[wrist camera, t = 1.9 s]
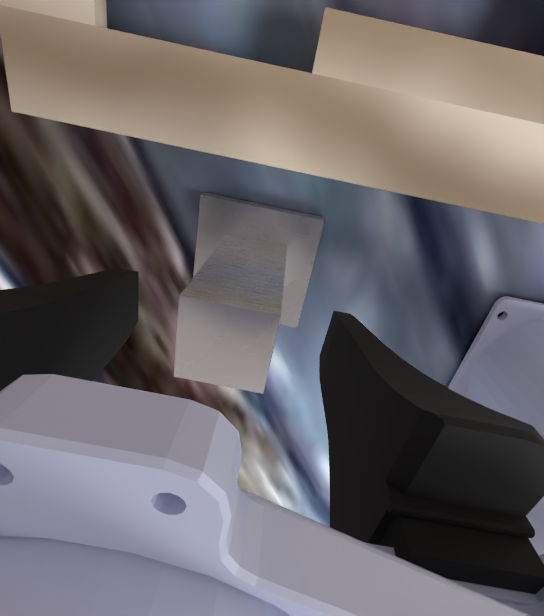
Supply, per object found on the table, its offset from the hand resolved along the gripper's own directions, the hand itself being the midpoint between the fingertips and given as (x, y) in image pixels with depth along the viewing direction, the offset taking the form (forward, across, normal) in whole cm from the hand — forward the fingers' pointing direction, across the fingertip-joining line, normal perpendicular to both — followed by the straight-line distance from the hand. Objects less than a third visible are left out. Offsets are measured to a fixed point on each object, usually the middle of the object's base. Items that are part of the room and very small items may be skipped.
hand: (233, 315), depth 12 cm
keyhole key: (+6, 0, 0) cm, 6 cm away
